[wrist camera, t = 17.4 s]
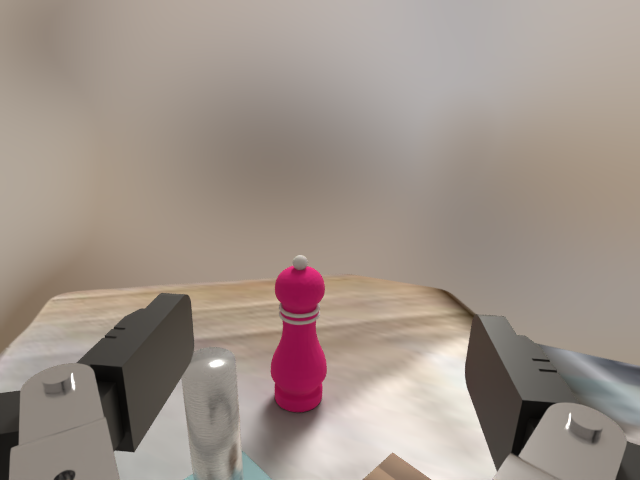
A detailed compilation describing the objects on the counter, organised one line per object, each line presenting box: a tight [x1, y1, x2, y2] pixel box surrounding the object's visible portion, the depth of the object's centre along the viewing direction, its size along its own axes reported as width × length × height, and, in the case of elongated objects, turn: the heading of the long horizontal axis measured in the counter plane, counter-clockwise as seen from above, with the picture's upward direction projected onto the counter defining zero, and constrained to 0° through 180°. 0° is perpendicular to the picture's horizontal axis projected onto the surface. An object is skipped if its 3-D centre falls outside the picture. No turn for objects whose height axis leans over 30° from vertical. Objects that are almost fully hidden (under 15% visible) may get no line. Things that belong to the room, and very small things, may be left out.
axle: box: [181, 347, 244, 480], centre depth 36 cm, size 4×4×18 cm
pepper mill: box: [271, 255, 327, 412], centre depth 54 cm, size 7×7×20 cm
